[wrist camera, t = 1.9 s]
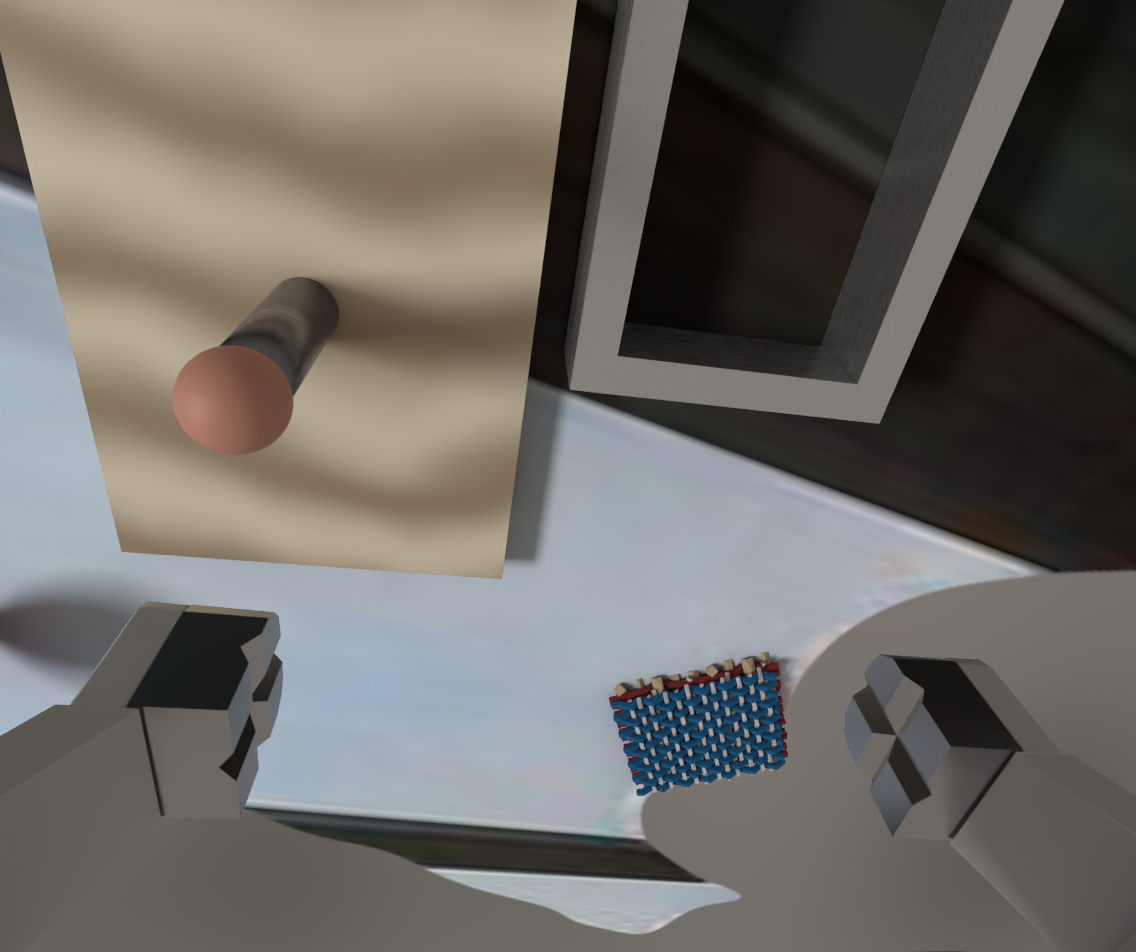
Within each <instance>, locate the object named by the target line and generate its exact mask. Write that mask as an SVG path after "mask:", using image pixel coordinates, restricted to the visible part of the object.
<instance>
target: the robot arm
mask: <svg viewBox="0 0 1136 952" xmlns="http://www.w3.org/2000/svg"><path fill="white" fill-rule="evenodd" d="M280 636H281V634H280V624H279V616H278V615H277V614H276V613H274V612H265V611H254V610H244V609H233V608H222V607H211V606H200V605H191V606H189V605H179V604H169V603H159V602H147V603H145V604H144V605H142V606H141V607H139V608H138V609H137V610H136V611H135V612H134V614H133V615H132V617H131V618H130V620H129V621H128V622H127V624H126V625H125V627H124V628H123V630H122V631H121V632H120V634H119V635H118V637H117V638H116V640H115V641H114V642H113V644H112V645H111V647H110V648H109V650H108V651H107V652H106V654H105V655H104V657H103V658H102V660H101V661H100V662H99V664H98V665H97V667H96V668H95V670H94V671H93V672H92V674H91V675H90V677H89V678H88V680H87V681H86V683H85V684H84V685H83V687H82V688H81V690H80V691H79V693H78V694H77V695H76V697H75V698H74V700H73V701H72V703H71V704H70V705H54V706H52V707H50V708H48V709H47V710H45V711H43V712H42V713H40V714H38V715H36V716H35V717H33V718H31V719H29V720H28V721H26V722H24V723H22V724H21V725H19V726H17V727H15V728H14V729H12V730H10V731H8V732H7V733H5V734H3V735H1V736H0V952H24V951H25V950H26V949H27V948H28V947H29V946H30V945H31V944H33V943H34V942H35V941H36V940H37V939H38V938H39V937H40V936H41V935H42V934H43V933H44V932H45V931H46V930H48V929H49V927H51V926H52V925H53V924H54V923H55V922H56V921H57V920H58V919H59V918H60V917H61V916H62V915H64V914H65V912H67V911H68V910H69V909H70V908H71V907H72V906H73V905H74V904H75V903H76V902H77V901H79V900H80V899H81V898H82V897H83V896H84V895H85V894H86V893H87V892H88V891H89V890H90V889H91V888H93V887H94V886H95V885H96V884H97V883H98V882H99V881H100V880H101V879H102V878H103V877H104V876H105V875H106V874H107V873H109V872H110V871H111V870H112V869H113V868H114V867H115V866H116V865H117V864H118V863H119V862H120V861H121V860H123V859H124V858H125V857H126V856H127V855H128V854H129V853H130V852H131V851H132V850H133V849H134V848H135V847H137V846H138V845H139V844H140V843H141V842H142V841H143V840H144V839H145V838H146V837H147V836H148V835H149V834H151V832H152V831H154V830H155V829H156V828H157V827H158V826H159V825H160V824H161V823H162V818H241V815H242V812H243V810H244V807H245V804H246V801H247V799H248V796H249V793H250V791H251V788H252V785H253V782H254V780H255V777H256V774H257V771H258V769H259V766H258V753H257V747H258V746H259V745H260V744H262V743H263V742H264V741H265V740H267V739H268V738H269V737H270V735H271V732H272V729H273V726H274V724H275V721H276V718H277V713H278V709H279V704H280V699H281V694H282V682H283V668H282V661H281V660H280V659H279V658H278V657H277V656H276V655H275V654H274V652H275V649H276V647H277V644H278V642H279V639H280ZM864 676H865V678H866V681H867V684H868V686H867V687H865V688H864V689H862V690H861V691H859V692H858V693H856V694H855V695H854V696H852V698H851V700H850V703H849V705H848V707H847V709H846V711H845V722H844V723H845V724H844V733H845V738H846V742H847V746H848V749H849V751H850V753H851V755H852V757H853V759H854V761H855V763H856V764H857V765H858V766H859V767H860V768H862V769H863V770H864V771H865V772H866V773H867V774H869V775H870V776H871V777H872V778H873V779H872V784H871V788H870V793H871V795H872V797H873V799H874V801H875V803H876V805H877V807H878V809H879V811H880V813H881V815H882V817H883V819H884V821H885V823H886V825H887V827H888V829H889V831H890V833H891V835H892V837H902V838H904V837H905V838H919V839H937V840H952V842H951V843H950V844H951V845H952V846H953V847H954V848H955V849H956V850H957V851H958V852H959V853H960V854H961V855H962V856H963V857H964V858H965V859H966V860H967V861H968V862H969V863H970V864H971V865H972V866H974V868H975V869H976V870H977V871H978V872H980V874H981V875H983V877H984V878H986V880H988V881H989V882H990V883H991V884H992V885H993V886H994V887H995V888H996V889H997V890H998V891H999V892H1000V893H1001V894H1002V895H1003V896H1004V897H1005V898H1006V899H1007V900H1008V901H1009V902H1010V903H1011V904H1012V905H1013V906H1014V907H1015V908H1016V909H1017V910H1018V911H1019V912H1020V913H1021V914H1022V915H1023V916H1024V917H1025V918H1026V919H1027V920H1028V921H1029V922H1030V923H1031V924H1032V925H1033V926H1034V927H1035V928H1036V929H1037V930H1038V931H1039V932H1040V933H1041V934H1042V935H1043V936H1044V937H1045V938H1046V939H1047V940H1048V941H1049V942H1050V943H1051V944H1052V945H1053V946H1054V947H1055V948H1056V949H1057V950H1058V951H1059V952H1136V797H1135V796H1134V795H1133V794H1131V793H1130V792H1128V791H1127V790H1125V789H1123V788H1122V787H1120V786H1119V785H1117V784H1116V783H1114V782H1113V781H1111V780H1110V779H1108V778H1107V777H1105V776H1104V775H1102V774H1101V773H1099V772H1098V771H1096V770H1094V769H1093V768H1091V767H1090V766H1088V765H1087V764H1085V763H1084V762H1082V761H1081V760H1079V759H1078V758H1076V757H1075V756H1073V755H1068V754H1061V753H1060V751H1059V750H1058V749H1057V748H1056V746H1055V745H1054V744H1053V743H1052V741H1051V740H1050V739H1049V738H1048V737H1047V735H1046V734H1045V733H1044V732H1043V730H1042V729H1041V728H1040V727H1039V725H1038V724H1037V723H1036V722H1035V721H1034V719H1033V718H1032V717H1031V716H1030V714H1029V713H1028V712H1027V711H1026V710H1025V708H1024V707H1023V706H1022V705H1021V703H1020V702H1019V701H1018V700H1017V698H1016V697H1015V696H1014V695H1013V694H1012V692H1011V691H1010V690H1009V689H1008V687H1007V686H1006V685H1005V684H1004V683H1003V681H1002V680H1001V679H1000V678H999V676H998V675H997V674H996V673H995V671H994V670H993V669H992V668H991V667H990V666H988V665H987V664H985V663H984V662H982V661H980V660H974V659H955V658H945V659H942V658H931V657H915V656H899V655H882V654H881V655H878V656H877V657H876V658H874V659H873V660H871V662H870V663H869V665H868V667H867V669H866V671H865V673H864Z"/></svg>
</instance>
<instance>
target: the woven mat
mask: <svg viewBox="0 0 1136 952" xmlns="http://www.w3.org/2000/svg"><path fill="white" fill-rule="evenodd" d="M741 662H742V663H741V664H739V665H738V666H737V667H736V668H734V665H733V661H732V659H730V660H725V661H724V670H725V672H722V673H717V672H718V670H717V668H716V667H715V666H713V665H710V666H708V667H707V668H706V674H707V676H703V677H700V676H699V671H697V670H694V671H689V672H688V677H687V678H686V680H683V681H680V678H679V674H675V675H671V676H670V677H671V681H667V680H662V677H657V678H652V679H651V681H652V683H650V684H649V685H648V686H647V687H645V685H644V682H643V680H642V678H640V679H636V680H637V689H638V690H635V691H631V692H626V688H625V687H624V686H622V685H621V684H619V685H618V686H617V687H616V688H615V691H616V693H617V695H616V696H612V697H609V701H610V704H611V708H613V709H621V710H620V711H614V717H613V718H614V721H615V722H616V723H617V726H618V728H621V727H625V726H626V728H622V729H619V733H618V734H619V737H621V739H622V741H626V740H629V741H630V742H631V743H628V744H624V748H623V750H624V753H626V755H627V757H630V756H635V757H632V758H628V766H629V768H630V769H631V772H634V773H632V775H633V777H632V779H633V782H635V783H636V785H638V784H643V785H644V788H642V789H637V795H638V796H644V795H646V794H647V793H649V792H650V791H652V790H653V793H654V792H657V790H658V791H661V792H662V793H663V794H665V793H666V790H667V789H669V788H670V789H672V788H674V784H675V785H679V786H683V787H686V789H689V788H690V787H689V786H691V784H693V783H694V782H695V784H698V783H699V781H702V782H705V784H708V783H711V782H712V781H714V780H715V779H716V778H717V777H718V780H721V779H722V777H724V778H726V779H728V781H731V778H732V777H733V776H734V775H735V774H737V777H738V776H739V775H740V772H745V773H749V774H751V776H754V775H755V773H756V772H757V771H758V770H759V769H761V771H765V768H769V770H770V771H773V769H774V770H777V769H779V768H780V767H781V766H783V765H784V764H785V760H784V757H788V753H787V751H786V750H783V749H787V745H786V743H785V742H784V739H787V733H786V732H785V729H784V728H782V725H783V724H786V722H785V719H784V715H783V712H782V711H783V706H782V704H779V703H783V702H782V698H781V696H778V691H779V690H780V688H781V683H780V680H776V677H777V676H778V675H780V671H779V665H778V662H777V663H771V659H770V656H769V653H768V652H764V653H762V662H760V663H761V664H759V663H755V662H754V661H753V658H748V659H743V660H741ZM756 671H757V672H756ZM742 672H743V676H740V674H741V673H742ZM755 672H756V673H755ZM736 676H737V677H736ZM719 681H720V682H719ZM756 682H758V683H756ZM664 687H665V688H669V689H673V692H669V691H666V690H665V688H664ZM651 692H652V694H651V695H648V694H649V693H651ZM690 693H691V695H692V698H691V695H690ZM727 694H728V697H727ZM686 696H687V698H684V697H686ZM722 697H723V699H721V698H722ZM632 699H634V700H632ZM669 700H672V701H671V702H669ZM708 701H710V702H708ZM744 702H746V703H744ZM775 704H779V705H775ZM637 707H638V708H637ZM760 707H761V708H760ZM642 723H643V724H642ZM679 723H680V724H681V725H678V724H679ZM761 723H762V724H761ZM660 727H661V728H660ZM663 741H664V743H663ZM701 742H702V743H701ZM734 742H736V743H737V744H736V745H735V743H734ZM781 750H782V751H781ZM777 760H778V761H777ZM767 761H768V762H767ZM753 763H756V764H755V765H754V764H753ZM747 764H749V767H747V766H746V765H747ZM753 765H754V766H753ZM690 768H692V769H690ZM724 770H725V771H724ZM636 771H639V772H636ZM671 771H672V772H671ZM701 773H703V775H700V774H701ZM707 773H708V774H709V776H708V775H707ZM687 776H689V777H690V778H689V779H687ZM680 778H683V779H684V780H682V779H680ZM663 781H667V782H666V783H665V784H664V782H663Z"/></svg>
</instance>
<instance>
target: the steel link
mask: <svg viewBox="0 0 1136 952" xmlns="http://www.w3.org/2000/svg"><path fill="white" fill-rule="evenodd" d="M688 1H689V0H618V4H617V11H616V17H615V23H614V30H613V36H612V43H611V49H610V56H609V62H608V68H607V75H606V81H605V88H604V94H603V101H602V107H601V114H600V120H599V126H598V133H597V139H596V146H595V152H594V159H593V165H592V171H591V178H590V184H589V191H588V197H587V204H586V210H585V217H584V223H583V229H582V236H581V242H580V249H579V255H578V262H577V268H576V275H575V281H574V287H573V294H572V300H571V307H570V313H569V320H568V326H567V332H566V339H565V345H564V355H565V362H566V369H567V375H568V382H569V388H570V390H578V391H587V392H596V393H605V394H614V395H623V396H633V397H642V398H651V399H660V400H669V401H678V402H687V403H696V404H705V405H714V406H724V407H733V408H742V409H751V410H760V411H769V412H778V413H787V414H796V415H805V416H814V417H824V418H833V419H842V420H851V421H860V422H869V423H878V424H879V423H880V421H881V419H882V416H883V414H884V412H885V409H886V407H887V405H888V403H889V400H890V398H891V396H892V393H893V391H894V389H895V387H896V384H897V382H898V380H899V377H900V375H901V373H902V371H903V368H904V366H905V364H906V361H907V359H908V357H909V354H910V352H911V350H912V348H913V345H914V343H915V341H916V338H917V336H918V334H919V332H920V329H921V327H922V325H923V322H924V320H925V318H926V316H927V313H928V311H929V309H930V306H931V304H932V302H933V300H934V297H935V295H936V293H937V290H938V288H939V286H940V284H941V281H942V279H943V277H944V274H945V272H946V270H947V268H948V265H949V263H950V261H951V258H952V256H953V254H954V252H955V249H956V247H957V245H958V242H959V240H960V238H961V236H962V233H963V231H964V229H965V226H966V224H967V222H968V220H969V217H970V215H971V213H972V210H973V208H974V206H975V203H976V201H977V199H978V197H979V194H980V192H981V190H982V187H983V185H984V183H985V181H986V178H987V176H988V174H989V171H990V169H991V167H992V165H993V162H994V160H995V158H996V155H997V153H998V151H999V149H1000V146H1001V144H1002V142H1003V139H1004V137H1005V135H1006V133H1007V130H1008V128H1009V126H1010V123H1011V121H1012V119H1013V117H1014V114H1015V112H1016V110H1017V107H1018V105H1019V103H1020V101H1021V98H1022V96H1023V94H1024V91H1025V89H1026V87H1027V85H1028V82H1029V80H1030V78H1031V75H1032V73H1033V71H1034V68H1035V66H1036V64H1037V62H1038V59H1039V57H1040V55H1041V52H1042V50H1043V48H1044V46H1045V43H1046V41H1047V39H1048V36H1049V34H1050V32H1051V30H1052V27H1053V25H1054V23H1055V20H1056V18H1057V16H1058V14H1059V11H1060V9H1061V7H1062V4H1063V2H1064V0H946V1H945V4H944V6H943V9H942V12H941V15H940V17H939V20H938V23H937V26H936V28H935V31H934V34H933V37H932V39H931V42H930V45H929V48H928V51H927V53H926V56H925V59H924V62H923V64H922V67H921V70H920V73H919V75H918V78H917V81H916V84H915V86H914V89H913V92H912V95H911V97H910V100H909V103H908V106H907V109H906V111H905V114H904V117H903V120H902V122H901V125H900V128H899V131H898V133H897V136H896V139H895V142H894V144H893V147H892V150H891V153H890V155H889V158H888V161H887V164H886V166H885V169H884V172H883V175H882V178H881V180H880V183H879V186H878V189H877V191H876V194H875V197H874V200H873V202H872V205H871V208H870V211H869V213H868V216H867V219H866V222H865V224H864V227H863V230H862V233H861V236H860V238H859V241H858V244H857V247H856V249H855V252H854V255H853V258H852V260H851V263H850V266H849V269H848V271H847V274H846V277H845V280H844V282H843V285H842V288H841V291H840V294H839V296H838V299H837V302H836V305H835V307H834V310H833V313H832V316H831V318H830V321H829V324H828V327H827V329H826V332H825V335H824V338H823V340H822V343H821V346H813V345H805V344H797V343H789V342H781V341H773V340H765V339H757V338H748V337H740V336H732V335H724V334H716V333H708V332H700V331H692V330H684V329H676V328H668V327H660V326H652V325H644V324H636V323H628V322H624V321H625V316H626V311H627V306H628V301H629V296H630V291H631V286H632V281H633V276H634V271H635V266H636V261H637V256H638V251H639V246H640V241H641V236H642V231H643V226H644V221H645V216H646V211H647V206H648V201H649V196H650V191H651V186H652V181H653V176H654V171H655V166H656V161H657V156H658V151H659V146H660V141H661V136H662V131H663V126H664V121H665V116H666V111H667V106H668V101H669V96H670V91H671V86H672V81H673V76H674V71H675V66H676V61H677V56H678V51H679V46H680V41H681V36H682V31H683V26H684V21H685V16H686V11H687V6H688Z"/></svg>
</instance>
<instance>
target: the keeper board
mask: <svg viewBox="0 0 1136 952" xmlns="http://www.w3.org/2000/svg"><path fill="white" fill-rule="evenodd" d="M576 2H577V0H0V52H1V56H2V60H3V64H4V68H5V72H6V77H7V81H8V85H9V89H10V93H11V97H12V101H13V105H14V110H15V114H16V118H17V122H18V126H19V130H20V134H21V138H22V143H23V147H24V151H25V155H26V159H27V163H28V167H29V171H30V176H31V180H32V184H33V188H34V192H35V196H36V200H37V204H38V209H39V213H40V217H41V221H42V225H43V229H44V233H45V237H46V242H47V246H48V250H49V254H50V258H51V262H52V266H53V270H54V274H55V279H56V283H57V287H58V291H59V295H60V299H61V303H62V307H63V312H64V316H65V320H66V324H67V328H68V332H69V336H70V340H71V345H72V349H73V353H74V357H75V361H76V365H77V369H78V373H79V378H80V382H81V386H82V390H83V394H84V398H85V402H86V406H87V411H88V415H89V419H90V423H91V427H92V431H93V435H94V439H95V444H96V448H97V452H98V456H99V460H100V464H101V468H102V472H103V476H104V481H105V485H106V489H107V493H108V497H109V501H110V505H111V509H112V514H113V518H114V522H115V526H116V530H117V534H118V538H119V542H120V547H121V551H122V552H133V553H147V554H161V555H175V556H189V557H203V558H216V559H230V560H244V561H258V562H272V563H286V564H300V565H314V566H327V567H341V568H355V569H369V570H383V571H397V572H411V573H424V574H438V575H452V576H466V577H480V578H494V579H502V575H503V567H504V560H505V552H506V544H507V536H508V529H509V521H510V513H511V505H512V498H513V490H514V482H515V474H516V467H517V459H518V451H519V443H520V436H521V428H522V420H523V412H524V405H525V397H526V389H527V382H528V374H529V366H530V358H531V351H532V343H533V335H534V327H535V320H536V312H537V304H538V296H539V289H540V281H541V273H542V265H543V258H544V250H545V242H546V234H547V227H548V219H549V211H550V203H551V196H552V188H553V180H554V173H555V165H556V157H557V149H558V142H559V134H560V126H561V118H562V111H563V103H564V95H565V87H566V80H567V72H568V64H569V56H570V49H571V41H572V33H573V25H574V18H575V10H576Z"/></svg>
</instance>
